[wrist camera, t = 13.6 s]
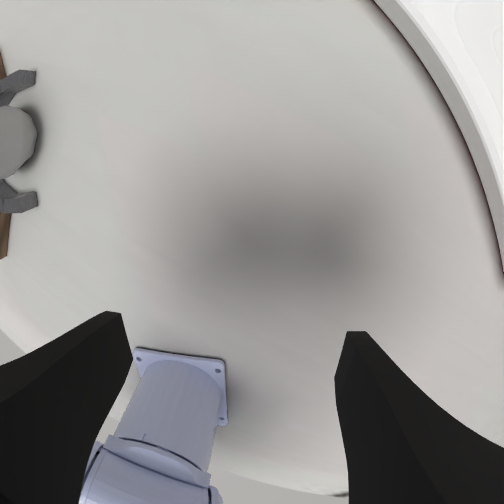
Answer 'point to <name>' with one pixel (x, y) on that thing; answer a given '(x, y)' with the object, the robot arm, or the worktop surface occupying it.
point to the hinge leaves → (0, 220)
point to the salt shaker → (15, 139)
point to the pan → (465, 76)
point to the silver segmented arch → (3, 194)
